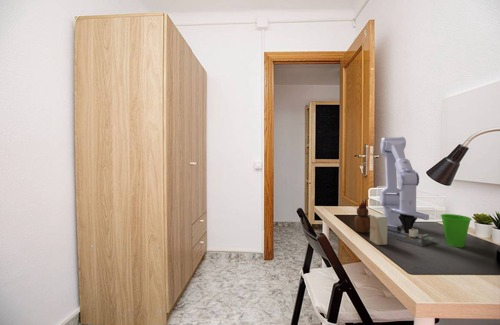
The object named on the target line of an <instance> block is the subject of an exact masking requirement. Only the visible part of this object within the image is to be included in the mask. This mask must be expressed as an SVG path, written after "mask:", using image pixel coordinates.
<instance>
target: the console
mask: <svg viewBox="0 0 500 325" xmlns="http://www.w3.org/2000/svg"><path fill="white" fill-rule="evenodd" d="M387 238H391V239H395V240H397V241H398V240H399V241H402V242H405V243H408V244H411V245H414V246H418V247H424V246H427V245H430V244H432V243H435V241H436V239H435V237H431V236H429V234H428V233H424V234H420V233H418V236H417V237H411V236H409V234H407V233H405V232H404V229H402V225H401V226H398V225H397V226H396V227H392V226H388V225H387Z"/></svg>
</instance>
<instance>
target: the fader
mask: <svg viewBox="0 0 500 325" xmlns="http://www.w3.org/2000/svg"><path fill="white" fill-rule="evenodd" d="M418 234H419V229H418V228H413V227H412V229H409V236H411V237H417V236H418Z"/></svg>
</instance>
